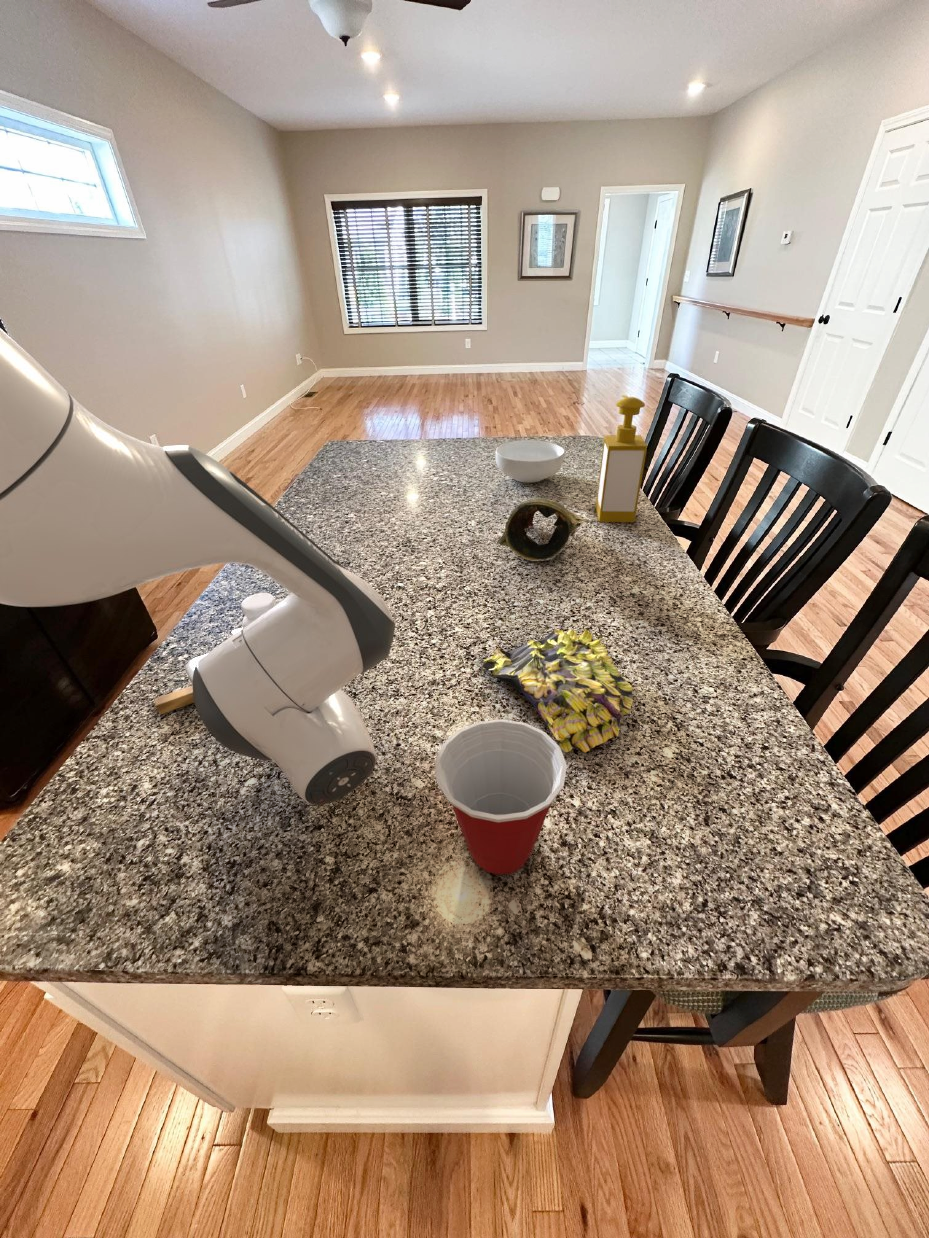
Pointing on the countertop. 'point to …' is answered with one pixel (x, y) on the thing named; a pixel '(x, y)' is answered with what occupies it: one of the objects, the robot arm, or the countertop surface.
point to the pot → (524, 519)
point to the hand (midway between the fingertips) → (264, 625)
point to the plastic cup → (500, 788)
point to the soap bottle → (621, 467)
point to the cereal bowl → (529, 460)
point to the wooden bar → (174, 700)
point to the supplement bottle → (256, 607)
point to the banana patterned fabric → (568, 686)
